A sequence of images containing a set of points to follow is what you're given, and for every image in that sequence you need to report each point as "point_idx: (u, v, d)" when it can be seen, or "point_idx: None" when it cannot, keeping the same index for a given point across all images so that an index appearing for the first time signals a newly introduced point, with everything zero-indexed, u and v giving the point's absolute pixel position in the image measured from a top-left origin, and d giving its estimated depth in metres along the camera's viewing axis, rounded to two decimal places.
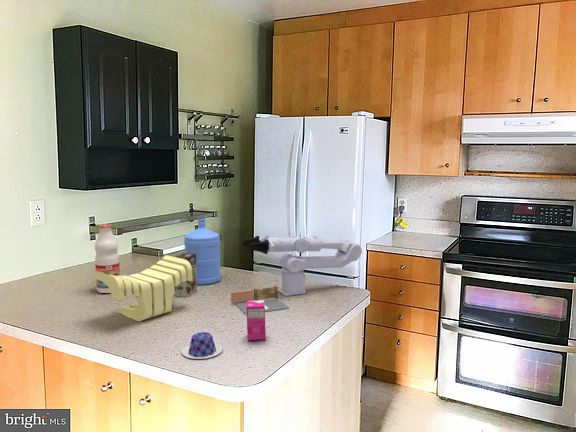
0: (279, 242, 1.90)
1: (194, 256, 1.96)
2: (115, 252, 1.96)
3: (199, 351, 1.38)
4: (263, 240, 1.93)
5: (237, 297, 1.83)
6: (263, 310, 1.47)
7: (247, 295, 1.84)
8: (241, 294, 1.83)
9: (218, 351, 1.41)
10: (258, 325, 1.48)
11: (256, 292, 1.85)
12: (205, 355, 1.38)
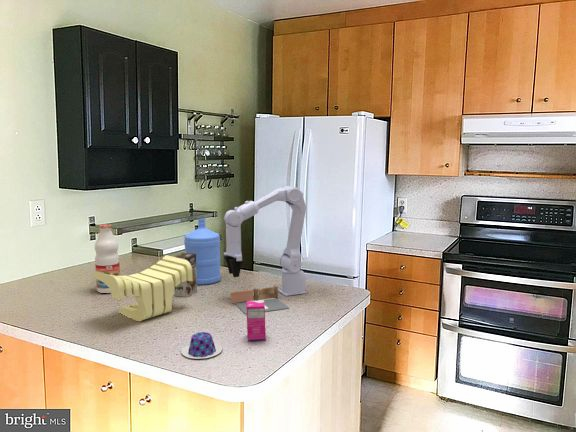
0: (231, 243, 1.83)
1: (194, 256, 1.96)
2: (115, 252, 1.96)
3: (199, 351, 1.38)
4: None
5: (237, 297, 1.83)
6: (263, 310, 1.47)
7: (247, 295, 1.84)
8: (241, 294, 1.83)
9: (218, 351, 1.41)
10: (258, 325, 1.48)
11: (256, 292, 1.85)
12: (204, 355, 1.38)
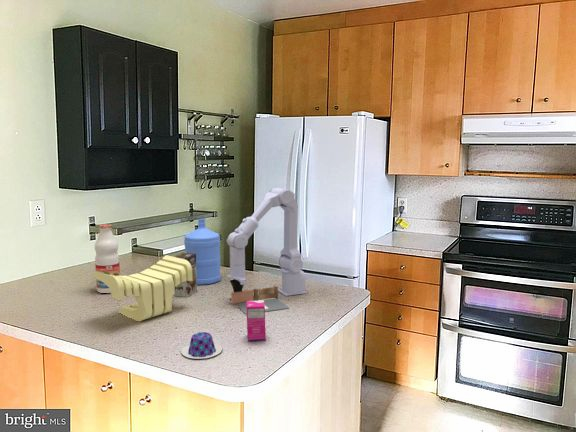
0: (235, 266, 1.80)
1: (194, 256, 1.96)
2: (115, 252, 1.96)
3: (198, 351, 1.38)
4: None
5: (237, 297, 1.82)
6: (263, 310, 1.47)
7: (247, 295, 1.84)
8: (241, 294, 1.83)
9: (217, 352, 1.40)
10: (258, 325, 1.48)
11: (256, 292, 1.85)
12: (203, 355, 1.37)
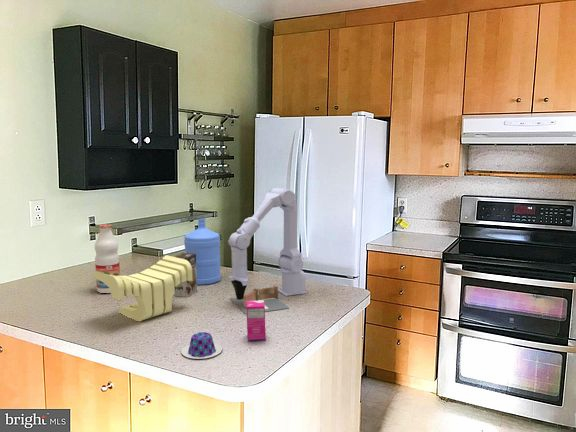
0: (237, 266, 1.78)
1: (194, 256, 1.96)
2: (115, 252, 1.96)
3: (197, 351, 1.38)
4: None
5: (248, 300, 1.79)
6: (263, 310, 1.47)
7: (253, 296, 1.83)
8: (250, 296, 1.80)
9: (217, 352, 1.40)
10: (258, 325, 1.48)
11: (256, 292, 1.85)
12: (202, 355, 1.37)
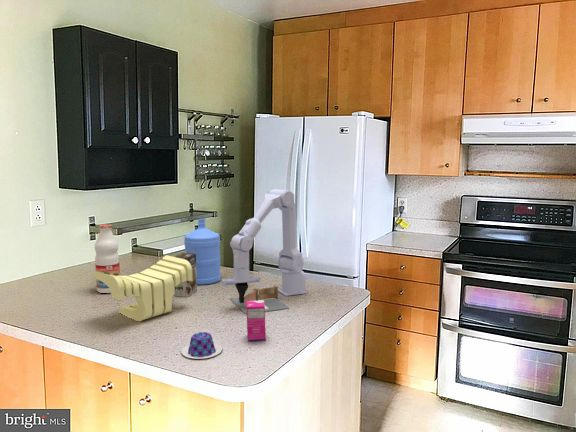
0: None
1: (194, 256, 1.96)
2: (115, 252, 1.96)
3: (196, 351, 1.38)
4: None
5: (249, 300, 1.79)
6: (263, 310, 1.47)
7: (253, 296, 1.83)
8: (250, 296, 1.80)
9: (216, 353, 1.40)
10: (258, 325, 1.48)
11: (256, 292, 1.85)
12: (201, 355, 1.37)
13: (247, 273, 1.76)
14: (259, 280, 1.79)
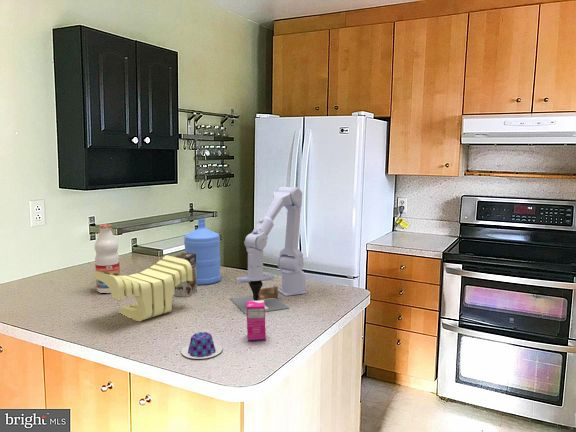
0: None
1: (194, 256, 1.96)
2: (115, 252, 1.96)
3: (196, 351, 1.38)
4: None
5: None
6: (263, 310, 1.47)
7: None
8: None
9: (216, 353, 1.39)
10: (258, 325, 1.48)
11: None
12: (201, 355, 1.37)
13: (261, 271, 1.78)
14: (273, 278, 1.81)
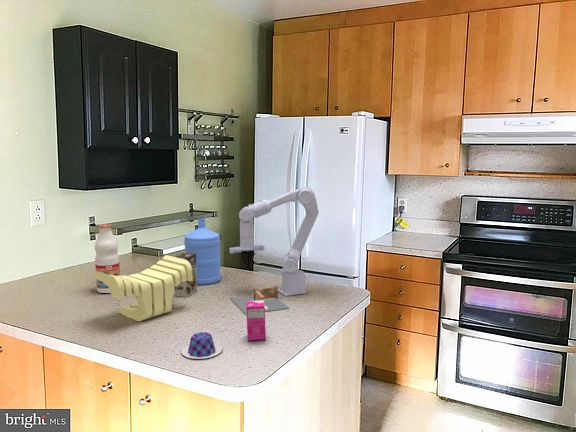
0: None
1: (194, 256, 1.96)
2: (115, 252, 1.96)
3: (195, 351, 1.38)
4: None
5: None
6: (263, 310, 1.47)
7: None
8: None
9: (215, 353, 1.39)
10: (258, 325, 1.48)
11: None
12: (200, 355, 1.37)
13: (252, 242, 1.94)
14: (263, 248, 1.98)
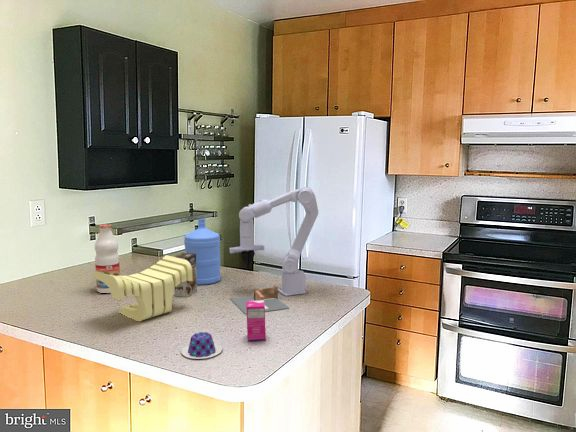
0: None
1: (194, 256, 1.96)
2: (115, 252, 1.96)
3: (195, 351, 1.38)
4: None
5: None
6: (263, 310, 1.47)
7: None
8: None
9: (215, 354, 1.39)
10: (258, 325, 1.48)
11: None
12: (199, 356, 1.37)
13: (252, 242, 1.94)
14: (263, 248, 1.98)
